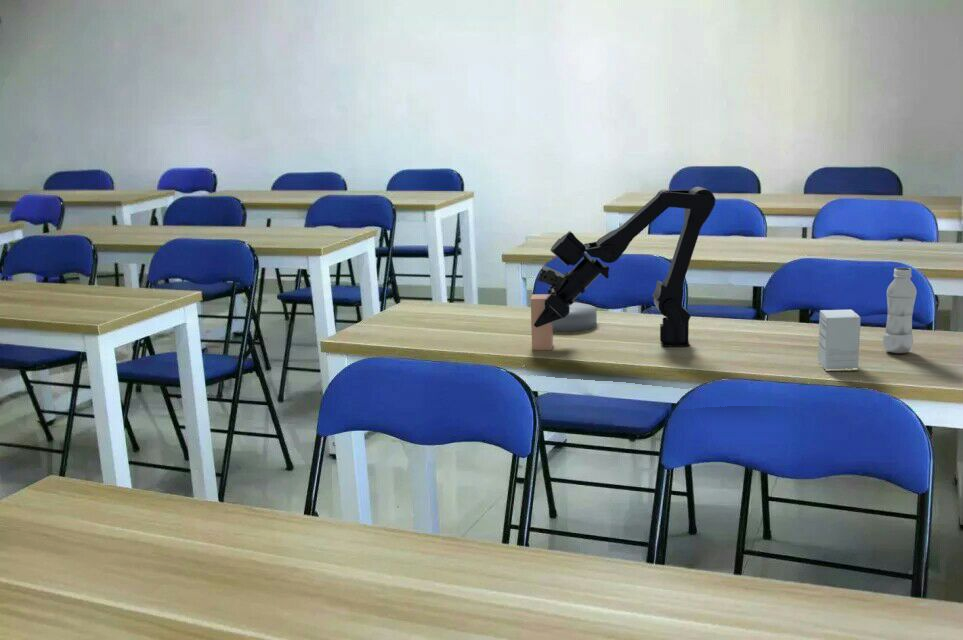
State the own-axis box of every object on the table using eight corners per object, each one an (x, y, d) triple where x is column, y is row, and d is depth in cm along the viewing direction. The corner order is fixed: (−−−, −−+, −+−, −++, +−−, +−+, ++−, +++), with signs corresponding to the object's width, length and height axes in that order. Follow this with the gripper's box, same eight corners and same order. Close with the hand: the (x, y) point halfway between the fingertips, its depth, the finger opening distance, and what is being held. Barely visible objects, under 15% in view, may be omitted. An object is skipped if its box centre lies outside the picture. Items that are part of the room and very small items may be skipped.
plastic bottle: (875, 350, 238) (880, 268, 233) (898, 347, 240) (904, 265, 235) (895, 357, 232) (901, 273, 227) (918, 353, 234) (924, 269, 229)
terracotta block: (553, 344, 254) (552, 294, 251) (552, 349, 250) (550, 298, 246) (533, 344, 255) (532, 294, 252) (532, 349, 250) (530, 298, 247)
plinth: (597, 316, 280) (597, 302, 279) (596, 331, 265) (595, 316, 264) (540, 316, 282) (539, 303, 281) (535, 331, 267) (535, 316, 266)
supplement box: (849, 362, 230) (852, 308, 227) (858, 371, 223) (861, 316, 220) (816, 362, 231) (819, 309, 227) (824, 372, 223) (826, 317, 220)
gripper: (558, 248, 255) (516, 291, 259) (554, 262, 237) (509, 308, 241) (590, 278, 256) (548, 320, 260) (587, 294, 238) (542, 339, 242)
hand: (536, 321), depth 251 cm, fingers open, 9 cm apart
